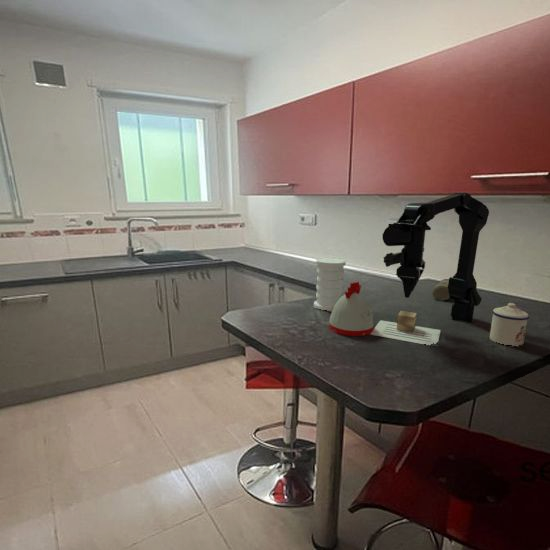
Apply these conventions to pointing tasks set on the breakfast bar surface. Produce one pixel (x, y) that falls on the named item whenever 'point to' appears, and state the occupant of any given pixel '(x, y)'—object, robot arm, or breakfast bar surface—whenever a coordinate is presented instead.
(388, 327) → the letter
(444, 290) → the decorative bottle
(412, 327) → the block
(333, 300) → the decorative container
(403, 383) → the breakfast bar surface
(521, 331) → the teacup with lid
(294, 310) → the breakfast bar surface
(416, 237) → the robot arm
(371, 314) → the kitchen timer
